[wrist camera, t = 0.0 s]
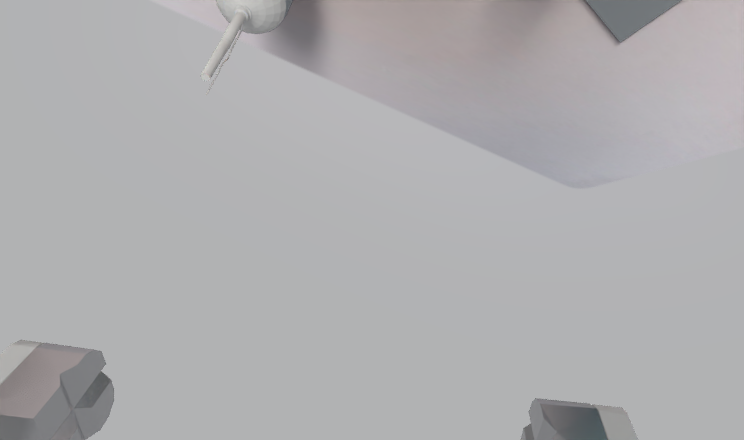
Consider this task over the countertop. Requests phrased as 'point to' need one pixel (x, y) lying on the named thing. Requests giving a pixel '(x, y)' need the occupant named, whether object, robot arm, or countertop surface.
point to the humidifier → (244, 25)
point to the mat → (629, 14)
